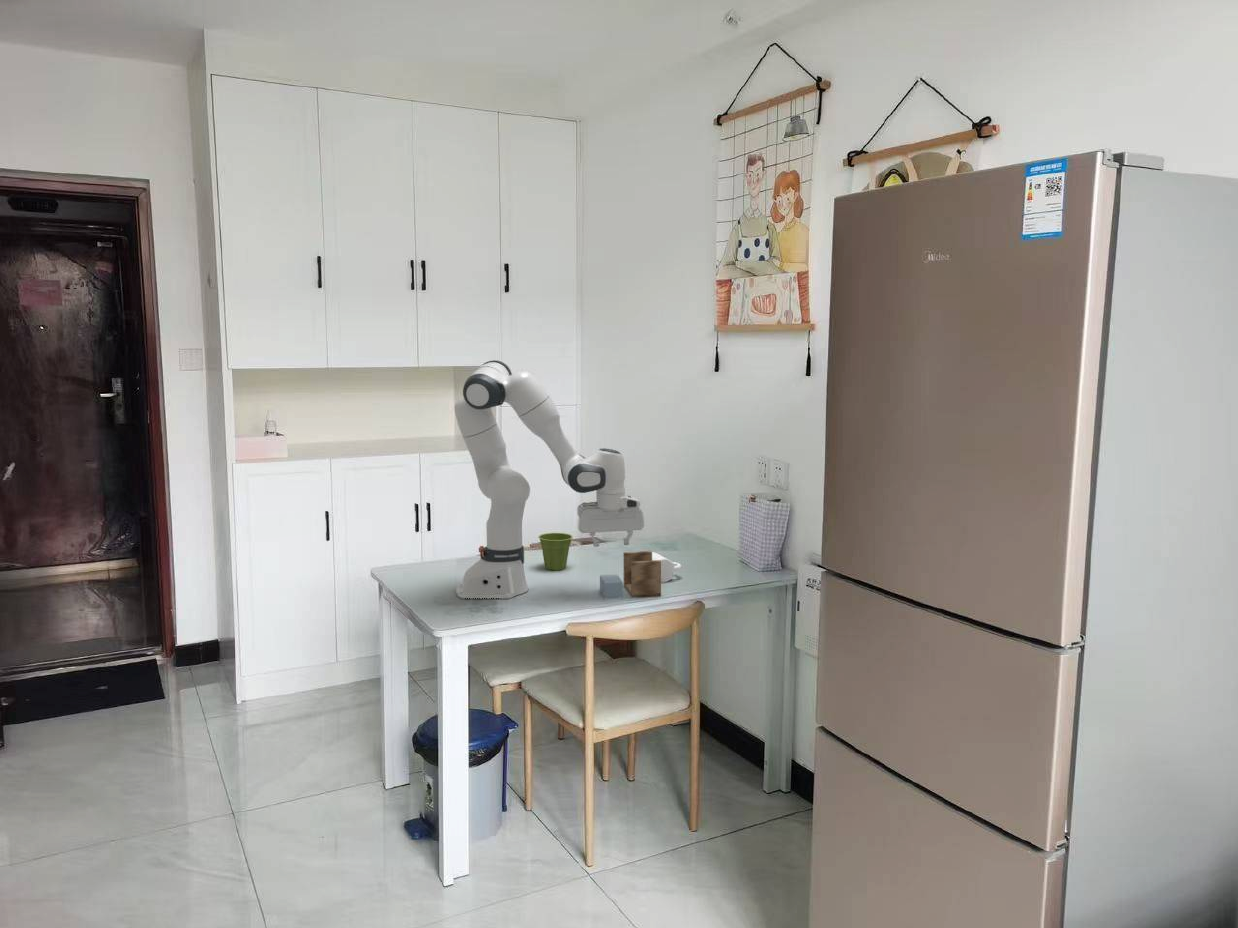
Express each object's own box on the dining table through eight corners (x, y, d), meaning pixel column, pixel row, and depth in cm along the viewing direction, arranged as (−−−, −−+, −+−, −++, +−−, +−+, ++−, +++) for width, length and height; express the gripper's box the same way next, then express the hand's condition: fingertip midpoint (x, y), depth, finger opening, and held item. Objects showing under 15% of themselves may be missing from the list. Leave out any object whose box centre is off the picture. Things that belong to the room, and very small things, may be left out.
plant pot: (557, 574, 304) (557, 541, 302) (531, 569, 311) (531, 537, 309) (580, 567, 313) (579, 535, 311) (554, 562, 320) (553, 530, 318)
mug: (652, 584, 292) (652, 560, 291) (640, 576, 301) (640, 553, 300) (685, 580, 296) (686, 556, 295) (672, 572, 306) (673, 549, 304)
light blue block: (605, 599, 276) (605, 583, 276) (599, 590, 285) (599, 575, 285) (622, 598, 277) (622, 582, 277) (617, 589, 286) (616, 574, 286)
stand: (632, 597, 277) (632, 562, 275) (623, 585, 290) (623, 552, 288) (660, 595, 279) (661, 561, 277) (650, 584, 292) (651, 550, 290)
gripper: (578, 504, 272) (579, 549, 274) (645, 501, 276) (645, 545, 278) (575, 500, 278) (576, 544, 280) (640, 497, 282) (641, 541, 284)
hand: (611, 545), depth 279 cm, fingers open, 8 cm apart
